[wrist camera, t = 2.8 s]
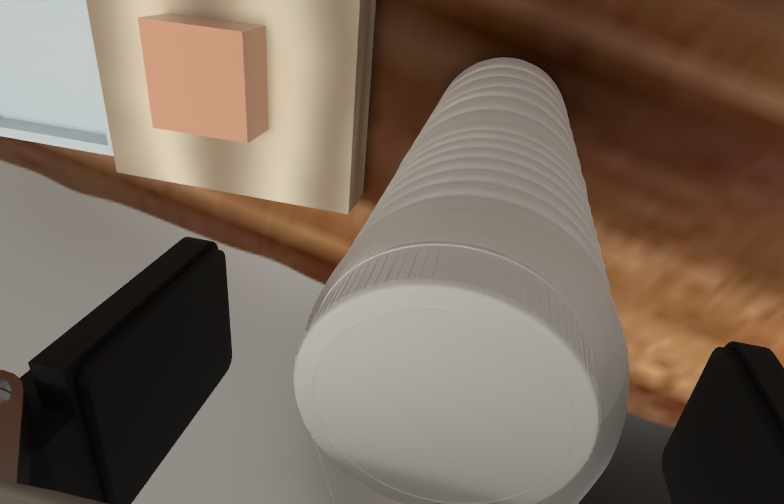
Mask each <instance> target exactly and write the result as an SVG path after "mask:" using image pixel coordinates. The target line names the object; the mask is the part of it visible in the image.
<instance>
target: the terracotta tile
mask: <svg viewBox="0 0 784 504" xmlns="http://www.w3.org/2000/svg"><path fill="white" fill-rule="evenodd" d="M138 23H139V30H140V38H141V45H142V52H143V59H144V67H145V74H146V81H147V88H148V96H149V103H150V110H151V117H152V125H153V128H158V129H164V130H170V131H176V132H182V133H188V134H194V135H200V136H206V137H212V138H218V139H224V140H230V141H236V142H242V143H249V142H251V141H252V140H254V139H255V138H257V137H258V136H260V135H261V134H263V133H264V132H266V131H267V130H269V127H268V90H267V53H266V26H264V25H256V24H249V23H241V22H234V21H226V20H218V19H211V18H203V17H196V16H188V15H180V14H173V13H165V14H159V15H152V16H145V17H139V18H138Z"/></svg>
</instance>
